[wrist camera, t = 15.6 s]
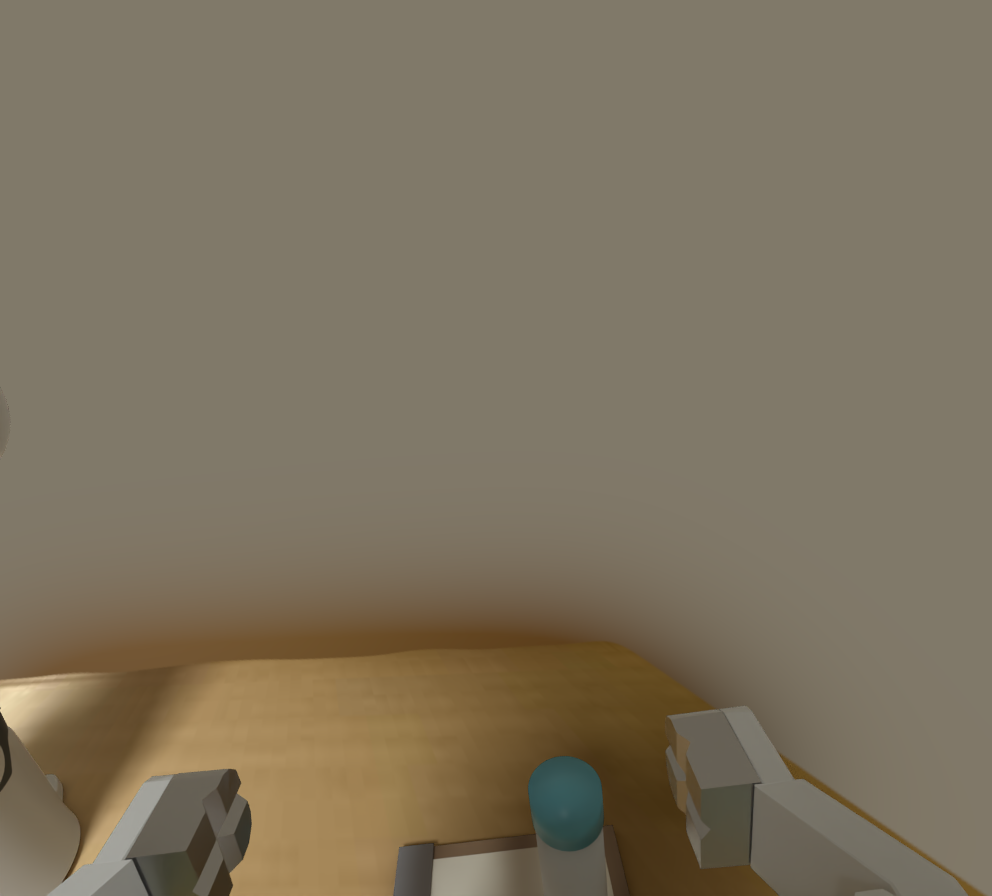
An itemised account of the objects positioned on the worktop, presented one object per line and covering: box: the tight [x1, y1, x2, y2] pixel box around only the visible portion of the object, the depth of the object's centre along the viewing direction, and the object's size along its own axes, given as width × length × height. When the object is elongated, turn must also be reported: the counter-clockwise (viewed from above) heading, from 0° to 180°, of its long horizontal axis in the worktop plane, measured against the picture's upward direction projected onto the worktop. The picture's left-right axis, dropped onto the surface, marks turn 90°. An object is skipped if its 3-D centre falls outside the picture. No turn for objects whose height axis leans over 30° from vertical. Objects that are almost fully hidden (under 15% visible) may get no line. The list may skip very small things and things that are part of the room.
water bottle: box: [528, 756, 608, 896], centre depth 31 cm, size 4×4×12 cm
